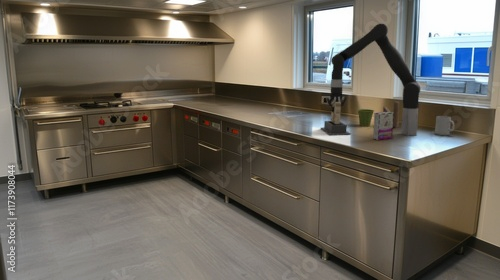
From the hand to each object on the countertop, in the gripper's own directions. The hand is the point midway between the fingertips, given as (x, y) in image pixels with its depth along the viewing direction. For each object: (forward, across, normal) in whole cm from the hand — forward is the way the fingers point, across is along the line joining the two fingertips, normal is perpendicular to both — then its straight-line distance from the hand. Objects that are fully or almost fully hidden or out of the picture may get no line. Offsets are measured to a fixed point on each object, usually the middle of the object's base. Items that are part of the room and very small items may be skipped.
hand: (335, 112), depth 264 cm
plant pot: (+14, +28, +19) cm, 36 cm away
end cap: (+13, 0, 0) cm, 13 cm away
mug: (+14, +67, -18) cm, 70 cm away
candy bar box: (+14, +22, -25) cm, 36 cm away
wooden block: (+14, +44, +12) cm, 47 cm away
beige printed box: (+7, 0, 0) cm, 7 cm away
